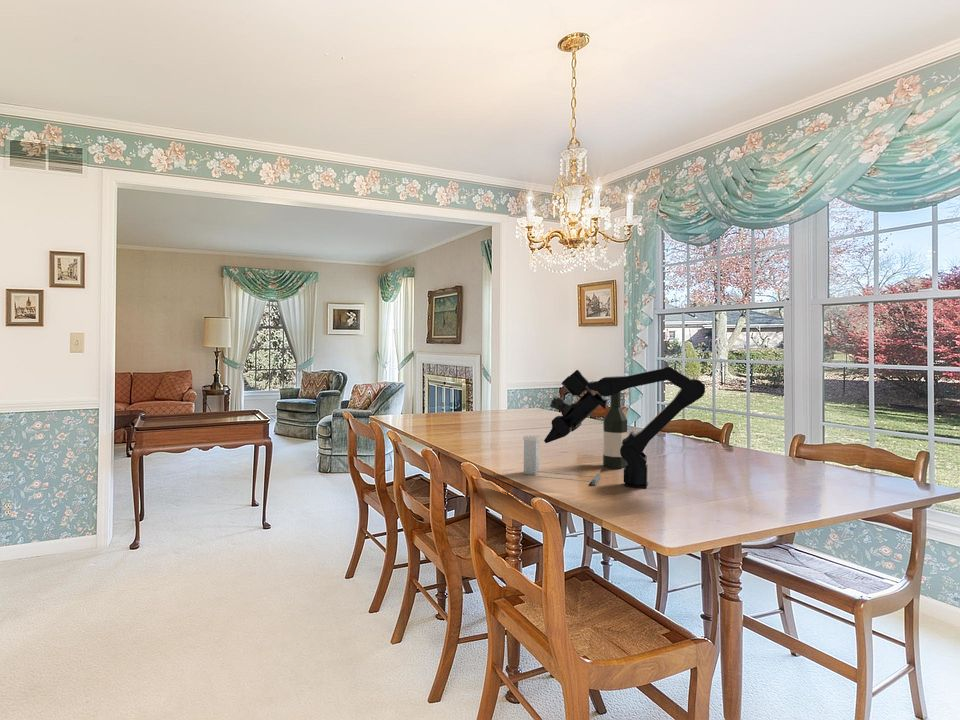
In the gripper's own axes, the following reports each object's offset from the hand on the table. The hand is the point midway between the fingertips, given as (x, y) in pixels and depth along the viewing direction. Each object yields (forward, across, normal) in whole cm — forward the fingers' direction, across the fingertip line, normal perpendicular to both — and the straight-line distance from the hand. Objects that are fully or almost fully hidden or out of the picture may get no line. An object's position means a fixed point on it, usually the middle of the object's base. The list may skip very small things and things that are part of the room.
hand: (548, 439), depth 179 cm
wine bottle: (-4, -25, +21) cm, 33 cm away
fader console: (+5, 0, +12) cm, 13 cm away
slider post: (+12, 0, +4) cm, 13 cm away
